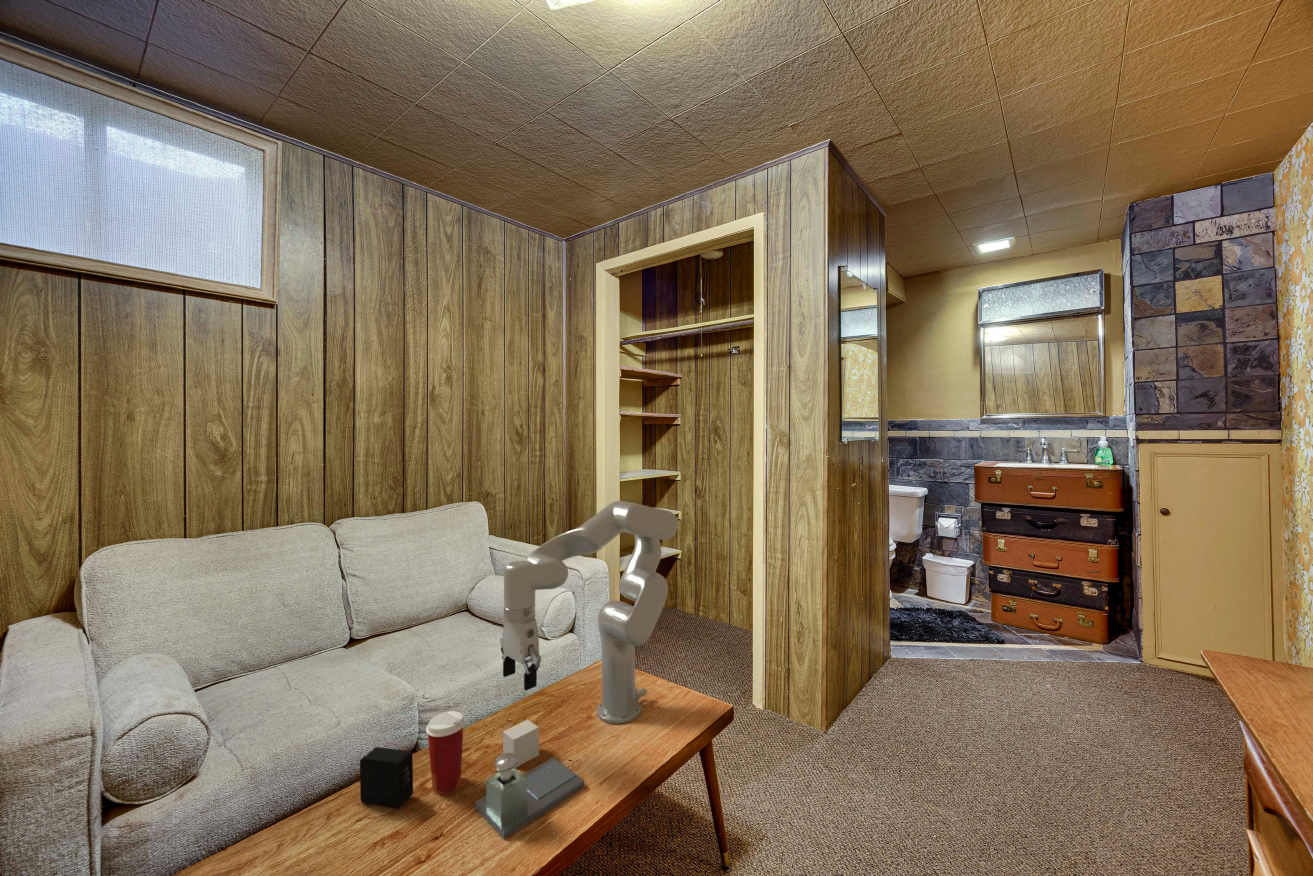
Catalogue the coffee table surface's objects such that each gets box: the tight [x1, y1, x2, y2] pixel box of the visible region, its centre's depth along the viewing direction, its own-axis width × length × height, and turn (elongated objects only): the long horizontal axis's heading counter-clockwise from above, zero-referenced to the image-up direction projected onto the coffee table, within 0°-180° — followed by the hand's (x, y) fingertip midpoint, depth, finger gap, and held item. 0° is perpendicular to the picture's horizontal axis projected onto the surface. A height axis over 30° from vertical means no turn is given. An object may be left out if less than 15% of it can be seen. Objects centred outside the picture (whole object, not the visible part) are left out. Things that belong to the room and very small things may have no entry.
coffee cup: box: [425, 710, 466, 795], centre depth 115 cm, size 8×8×15 cm
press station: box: [474, 756, 585, 840], centre depth 110 cm, size 20×12×8 cm, turn 136°
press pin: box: [494, 753, 517, 786], centre depth 105 cm, size 4×4×6 cm
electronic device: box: [359, 747, 414, 810], centre depth 110 cm, size 4×10×10 cm, turn 78°
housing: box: [502, 719, 540, 769], centre depth 124 cm, size 7×5×7 cm
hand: (519, 681), depth 124 cm, fingers open, 9 cm apart
